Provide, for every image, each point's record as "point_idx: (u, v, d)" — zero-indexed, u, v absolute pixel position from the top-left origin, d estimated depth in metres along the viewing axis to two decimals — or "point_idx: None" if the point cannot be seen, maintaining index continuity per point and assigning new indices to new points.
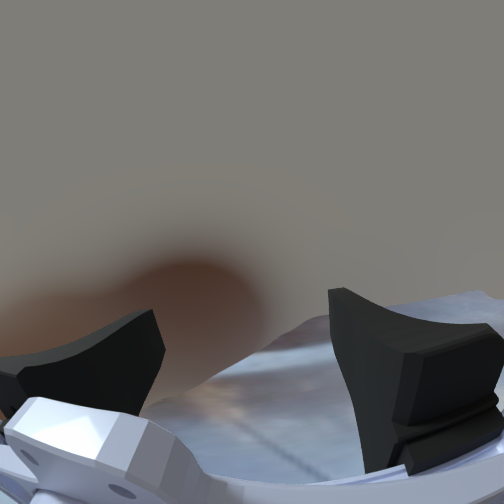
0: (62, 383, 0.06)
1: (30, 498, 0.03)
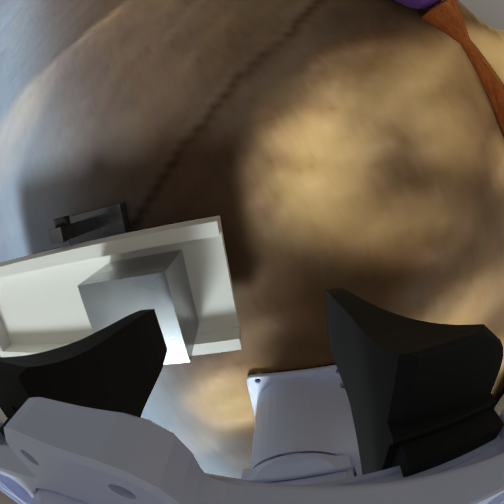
0: (64, 383, 0.06)
1: (30, 498, 0.03)
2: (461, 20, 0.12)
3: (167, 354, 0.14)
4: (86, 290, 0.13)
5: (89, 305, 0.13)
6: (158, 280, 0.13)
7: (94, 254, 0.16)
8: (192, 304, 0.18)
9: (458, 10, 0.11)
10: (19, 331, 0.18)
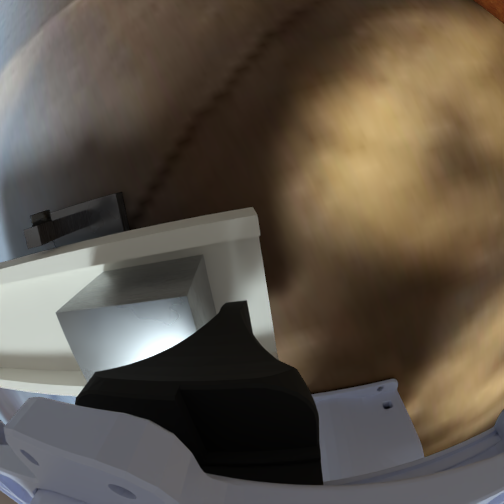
0: None
1: (30, 498, 0.03)
2: None
3: None
4: (68, 319, 0.08)
5: (74, 340, 0.09)
6: (176, 308, 0.08)
7: (81, 263, 0.11)
8: None
9: None
10: (0, 353, 0.14)
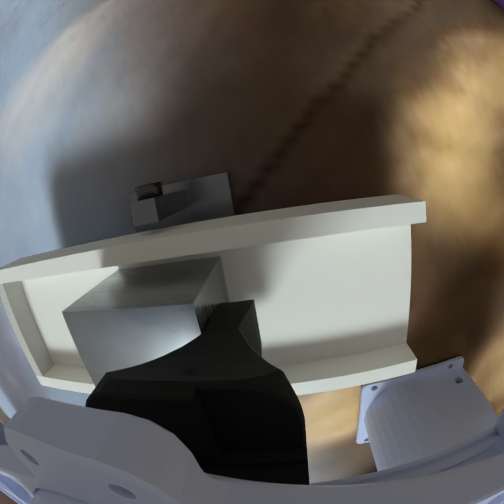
0: None
1: (30, 498, 0.03)
2: None
3: None
4: (74, 320, 0.08)
5: (80, 340, 0.09)
6: (182, 316, 0.08)
7: (223, 243, 0.10)
8: None
9: None
10: (67, 350, 0.15)
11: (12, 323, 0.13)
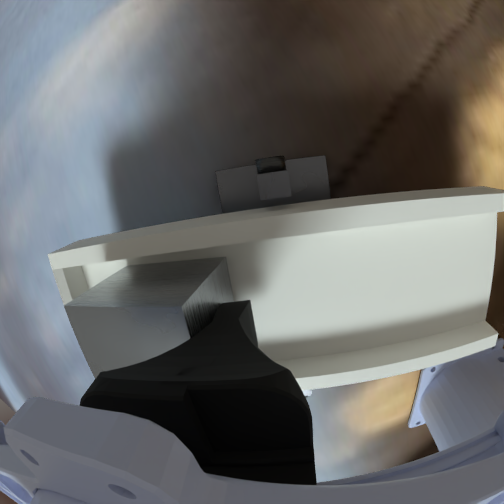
0: None
1: (30, 498, 0.03)
2: None
3: None
4: (74, 314, 0.09)
5: (81, 333, 0.09)
6: (171, 317, 0.08)
7: (369, 220, 0.10)
8: None
9: None
10: None
11: None
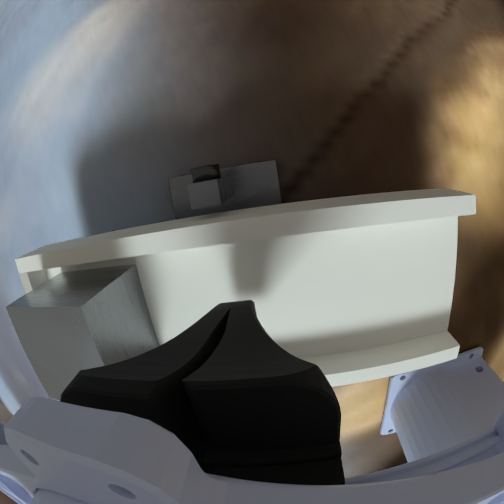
0: (186, 394, 0.05)
1: (30, 498, 0.03)
2: None
3: None
4: (13, 313, 0.09)
5: (19, 330, 0.09)
6: (76, 316, 0.09)
7: (296, 228, 0.10)
8: (150, 334, 0.13)
9: None
10: None
11: None
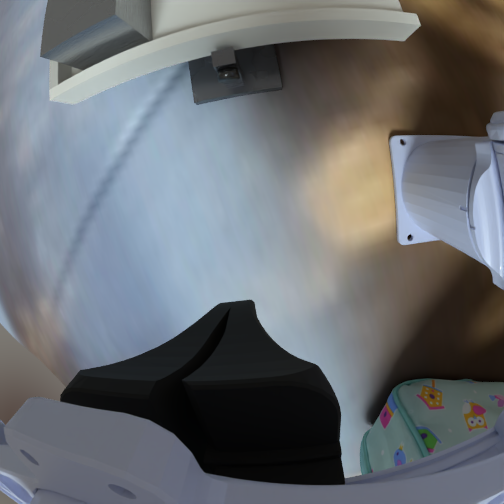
0: (186, 394, 0.05)
1: (30, 498, 0.03)
2: None
3: (97, 14, 0.09)
4: None
5: (51, 3, 0.08)
6: None
7: None
8: (148, 19, 0.12)
9: None
10: None
11: None
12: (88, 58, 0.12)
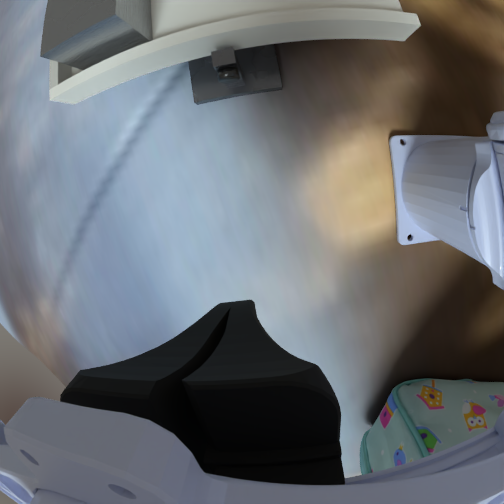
0: (186, 394, 0.05)
1: (30, 498, 0.03)
2: None
3: (97, 14, 0.09)
4: None
5: (51, 3, 0.08)
6: None
7: None
8: (148, 19, 0.12)
9: None
10: None
11: None
12: (88, 58, 0.12)
